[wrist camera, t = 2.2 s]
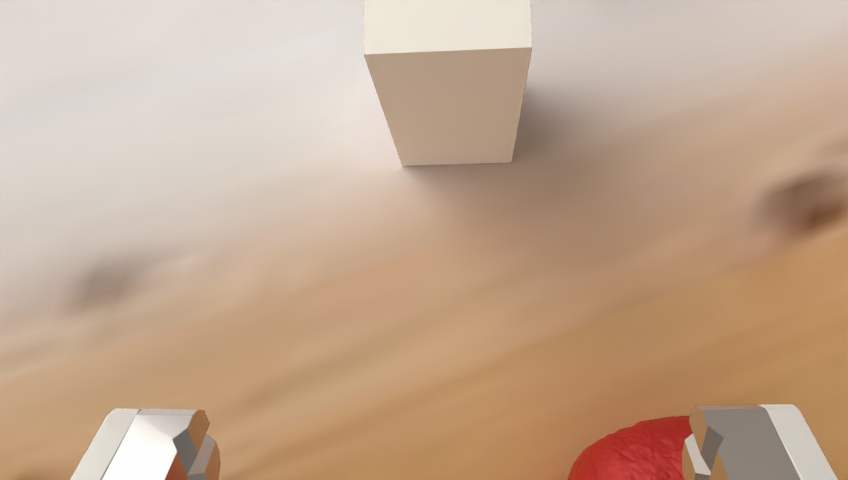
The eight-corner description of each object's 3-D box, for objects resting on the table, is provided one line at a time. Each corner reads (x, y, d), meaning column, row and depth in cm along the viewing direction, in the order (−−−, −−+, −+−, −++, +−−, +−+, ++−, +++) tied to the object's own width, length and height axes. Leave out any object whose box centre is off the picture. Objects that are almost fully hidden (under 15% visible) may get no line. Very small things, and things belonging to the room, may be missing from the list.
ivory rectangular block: (402, 165, 31) (363, 54, 20) (401, 84, 32) (364, -65, 21) (511, 162, 30) (532, 47, 20) (508, 80, 31) (527, -74, 21)
